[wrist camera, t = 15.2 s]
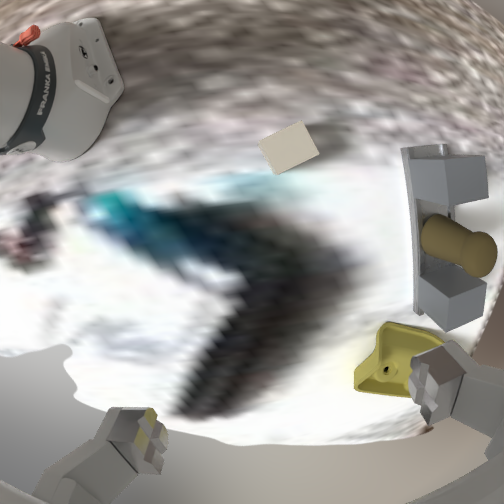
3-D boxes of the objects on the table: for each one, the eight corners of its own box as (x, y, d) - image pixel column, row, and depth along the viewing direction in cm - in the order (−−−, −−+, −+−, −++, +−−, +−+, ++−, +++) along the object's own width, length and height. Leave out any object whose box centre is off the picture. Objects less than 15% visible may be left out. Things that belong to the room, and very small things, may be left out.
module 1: (407, 159, 32) (443, 159, 24) (448, 154, 32) (486, 155, 24) (413, 197, 33) (448, 206, 26) (453, 190, 33) (490, 197, 25)
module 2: (418, 275, 36) (449, 298, 29) (455, 263, 36) (488, 282, 28) (418, 306, 38) (445, 332, 30) (454, 293, 37) (484, 315, 30)
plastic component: (348, 390, 41) (382, 361, 34) (348, 351, 46) (378, 318, 40) (435, 399, 41) (472, 374, 34) (431, 367, 47) (463, 339, 40)
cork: (422, 213, 33) (474, 232, 23) (454, 214, 33) (507, 231, 23) (418, 258, 35) (466, 288, 25) (450, 255, 35) (498, 282, 25)
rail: (400, 148, 33) (407, 147, 31) (439, 144, 33) (447, 143, 31) (413, 310, 39) (418, 316, 38) (447, 298, 39) (453, 303, 37)
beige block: (257, 145, 33) (259, 140, 28) (294, 126, 33) (301, 120, 28) (273, 174, 34) (277, 174, 29) (310, 155, 34) (319, 154, 29)
